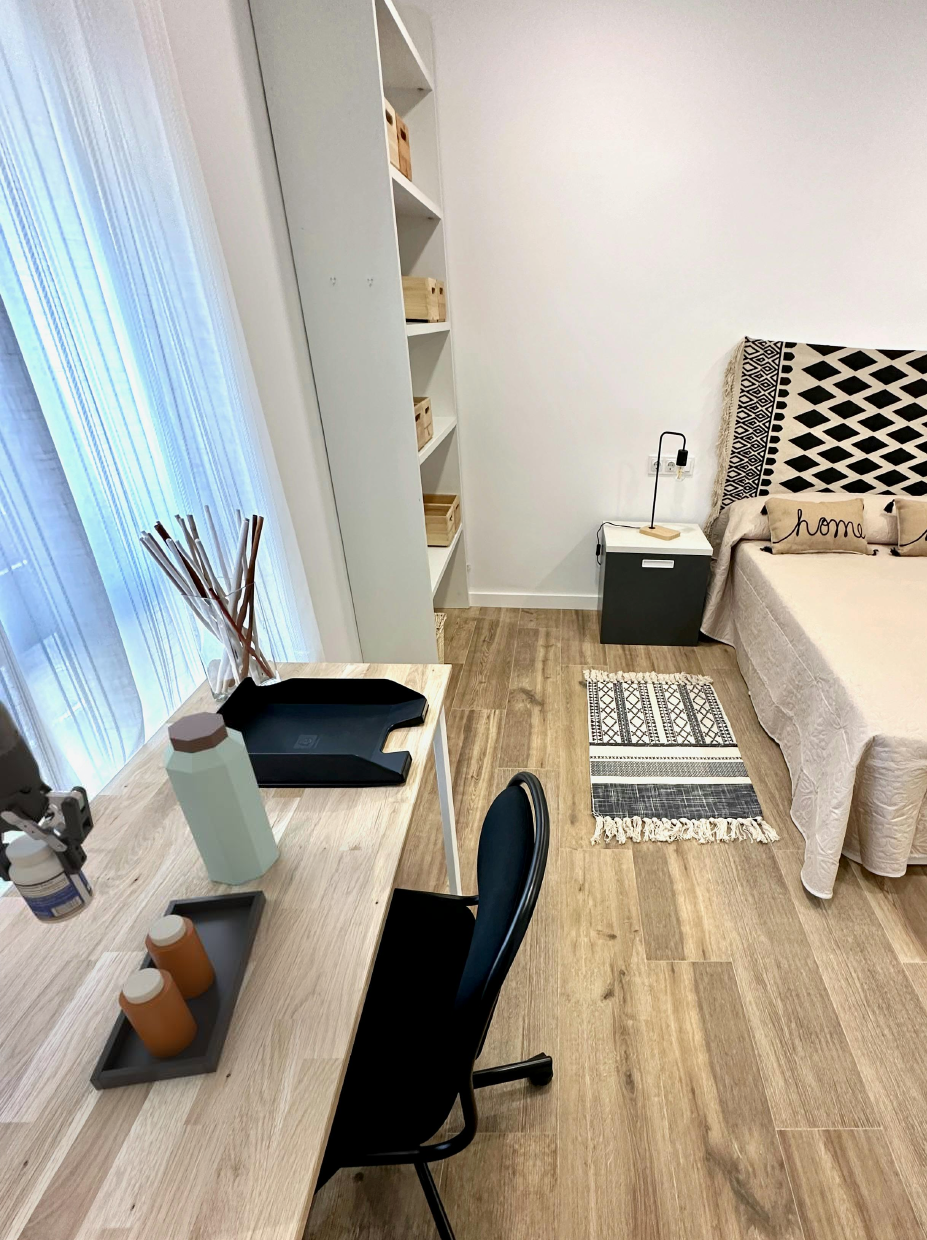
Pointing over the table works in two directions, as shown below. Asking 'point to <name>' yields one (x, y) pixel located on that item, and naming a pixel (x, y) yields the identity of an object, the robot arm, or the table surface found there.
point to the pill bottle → (46, 881)
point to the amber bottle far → (158, 1012)
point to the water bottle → (220, 798)
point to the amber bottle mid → (180, 954)
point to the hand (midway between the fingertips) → (45, 871)
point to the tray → (228, 946)
